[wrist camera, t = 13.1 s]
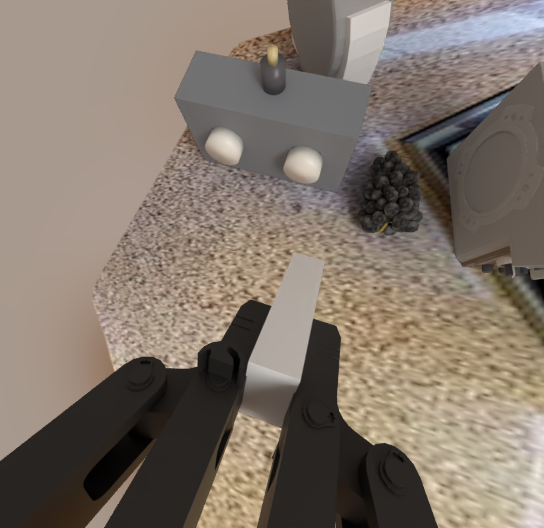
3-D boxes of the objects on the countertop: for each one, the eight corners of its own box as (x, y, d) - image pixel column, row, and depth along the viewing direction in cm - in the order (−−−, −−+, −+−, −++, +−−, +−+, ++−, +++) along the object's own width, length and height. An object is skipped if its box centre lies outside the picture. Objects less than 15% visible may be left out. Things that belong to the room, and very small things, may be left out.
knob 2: (328, 145, 41) (335, 120, 36) (316, 187, 39) (321, 166, 34) (296, 138, 41) (298, 112, 36) (283, 178, 40) (283, 157, 35)
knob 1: (256, 129, 42) (252, 102, 37) (241, 168, 41) (235, 145, 36) (226, 122, 43) (218, 94, 38) (210, 160, 41) (200, 137, 36)
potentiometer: (288, 78, 34) (289, 40, 29) (281, 97, 33) (281, 61, 29) (266, 74, 34) (263, 36, 29) (259, 92, 33) (255, 56, 29)
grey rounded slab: (367, 106, 47) (426, -50, 28) (325, 124, 47) (354, -21, 27) (322, 38, 51) (344, -139, 32) (282, 55, 51) (281, -115, 31)
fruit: (394, 118, 36) (384, 217, 32) (442, 139, 38) (437, 235, 34) (357, 154, 44) (346, 236, 41) (398, 170, 46) (391, 250, 42)
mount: (348, 152, 45) (372, 85, 33) (337, 193, 44) (358, 138, 31) (219, 122, 48) (196, 50, 35) (204, 159, 46) (174, 97, 34)
